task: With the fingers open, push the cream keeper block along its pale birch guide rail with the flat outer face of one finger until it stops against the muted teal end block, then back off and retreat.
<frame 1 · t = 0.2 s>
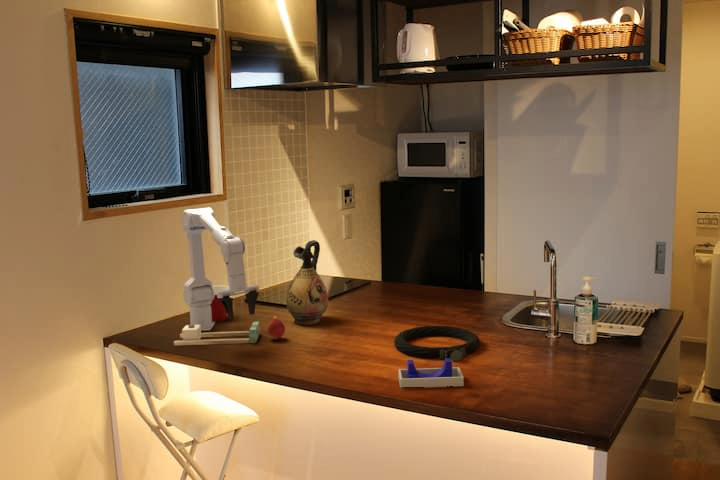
hand: (241, 316, 232), 10 cm above the worktop, tool pointing down, fingers open, 7 cm apart
plastic cup: (217, 320, 269), on the worktop
guide rail: (214, 339, 243), on the worktop
shallow grey tray: (430, 381, 198), on the worktop
onion: (276, 340, 242), on the worktop
blue saddle holder: (430, 383, 198), resting in shallow grey tray
ceramic jug: (309, 321, 263), on the worktop
cable lock: (438, 348, 228), on the worktop
keeper: (191, 332, 243), point 3 cm above the worktop, slide at 0.0 cm
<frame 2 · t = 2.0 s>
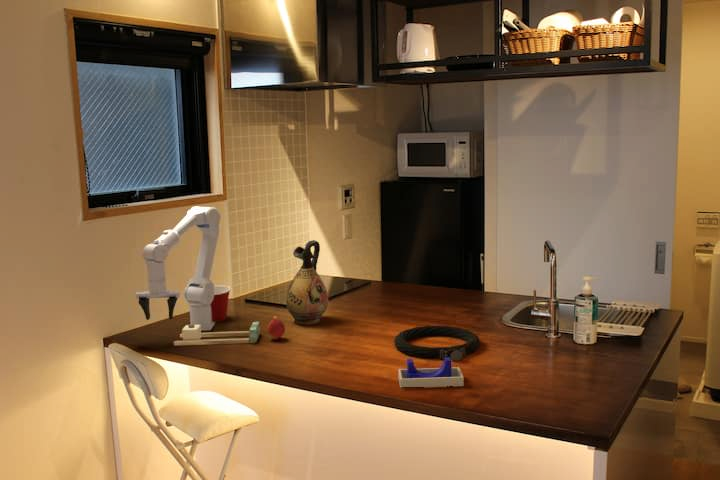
hand: (159, 318, 242), 8 cm above the worktop, tool pointing down, fingers open, 7 cm apart
nothing on the worktop moved.
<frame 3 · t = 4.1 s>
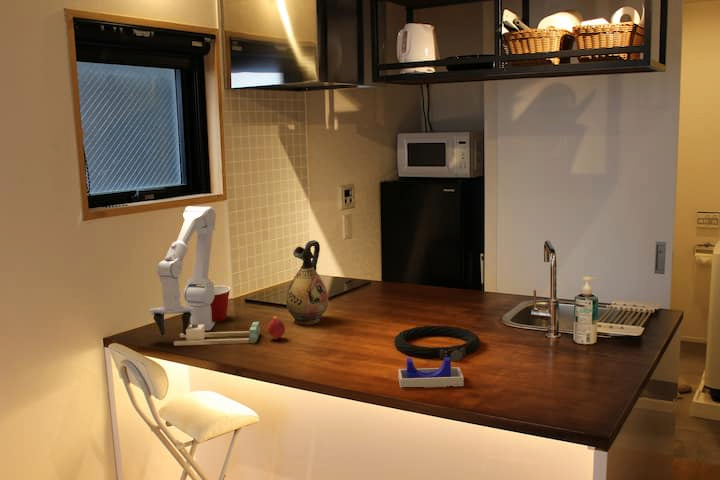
hand: (174, 334, 243), 2 cm above the worktop, tool pointing down, fingers open, 7 cm apart
keeper: (195, 332, 243), point 3 cm above the worktop, slide at 1.2 cm, touching gripper
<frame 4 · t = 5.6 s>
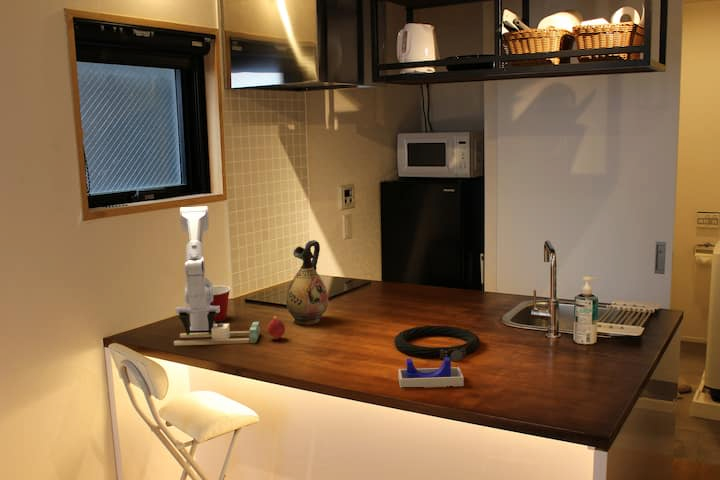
hand: (199, 333, 243), 2 cm above the worktop, tool pointing down, fingers open, 7 cm apart
keeper: (220, 331, 243), point 3 cm above the worktop, slide at 9.8 cm, touching gripper
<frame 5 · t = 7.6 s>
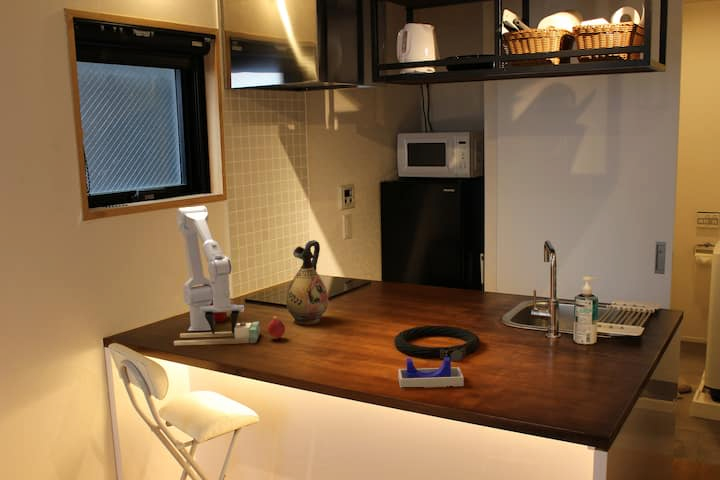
hand: (223, 332, 243), 2 cm above the worktop, tool pointing down, fingers open, 6 cm apart
keeper: (243, 330, 243), point 3 cm above the worktop, slide at 17.6 cm, touching gripper
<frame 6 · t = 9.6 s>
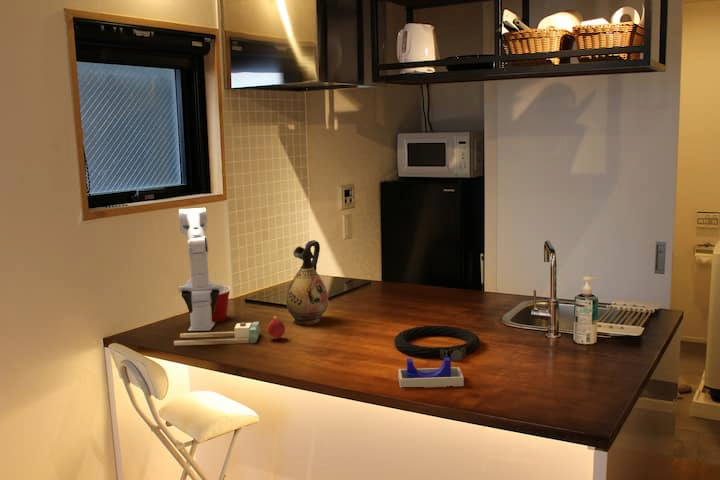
hand: (202, 312, 242), 10 cm above the worktop, tool pointing down, fingers open, 7 cm apart
keeper: (243, 330, 243), point 3 cm above the worktop, slide at 17.5 cm
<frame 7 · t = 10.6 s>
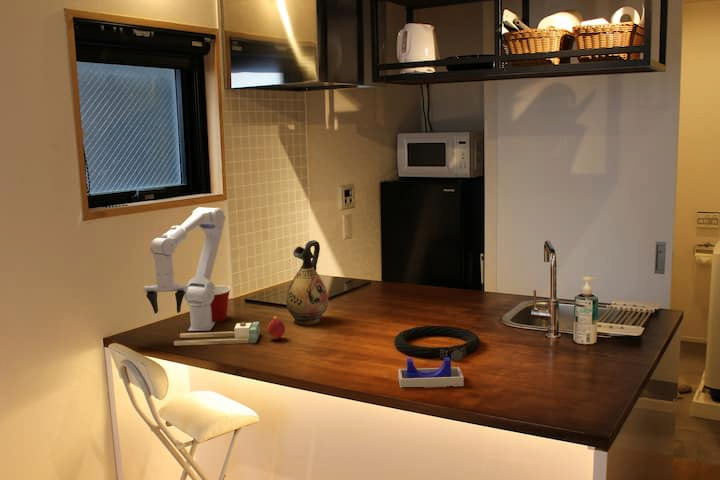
hand: (167, 312, 243), 10 cm above the worktop, tool pointing down, fingers open, 7 cm apart
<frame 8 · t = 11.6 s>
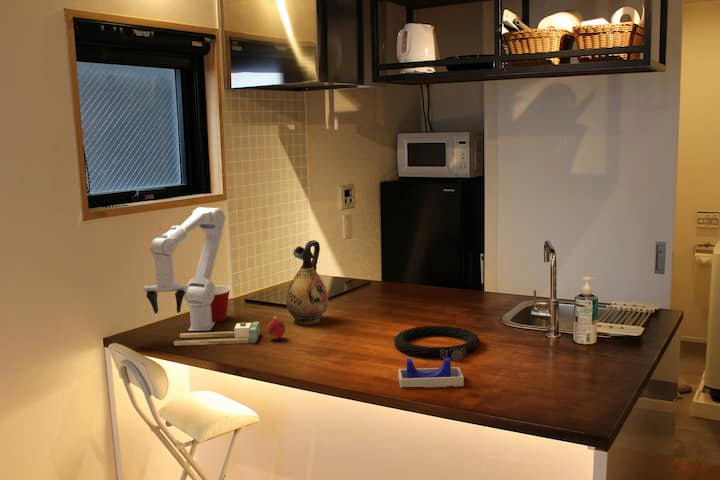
hand: (167, 312, 243), 10 cm above the worktop, tool pointing down, fingers open, 7 cm apart
at the end: keeper slide at 17.5 cm; the gripper is holding nothing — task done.
